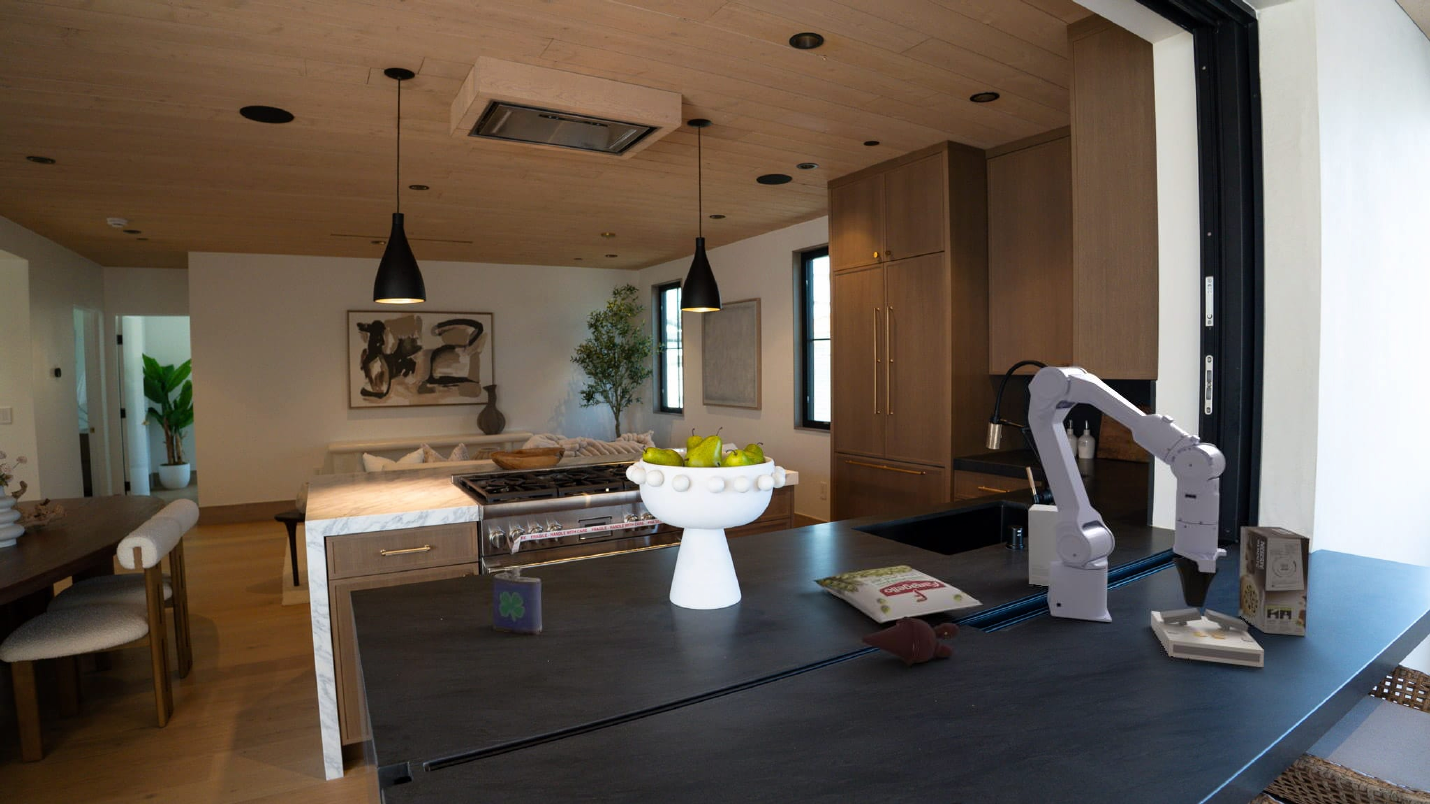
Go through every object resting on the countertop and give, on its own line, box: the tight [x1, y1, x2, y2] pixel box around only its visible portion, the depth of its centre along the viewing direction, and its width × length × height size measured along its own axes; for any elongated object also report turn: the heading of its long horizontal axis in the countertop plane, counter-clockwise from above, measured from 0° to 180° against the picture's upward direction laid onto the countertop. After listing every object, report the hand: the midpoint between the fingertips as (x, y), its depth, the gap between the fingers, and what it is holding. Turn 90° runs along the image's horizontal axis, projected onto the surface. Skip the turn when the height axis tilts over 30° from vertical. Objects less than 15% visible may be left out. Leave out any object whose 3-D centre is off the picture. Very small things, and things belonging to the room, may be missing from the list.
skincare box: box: [1027, 503, 1062, 587], centre depth 150 cm, size 8×7×16 cm
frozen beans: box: [812, 564, 983, 624], centre depth 138 cm, size 21×6×25 cm
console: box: [1150, 610, 1265, 668], centre depth 118 cm, size 12×14×3 cm
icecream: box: [861, 616, 960, 667], centre depth 112 cm, size 7×7×15 cm
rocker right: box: [1203, 608, 1250, 633], centre depth 118 cm, size 5×3×2 cm, turn 70°
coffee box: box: [1238, 525, 1311, 637], centre depth 127 cm, size 9×6×16 cm
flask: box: [492, 566, 543, 636], centre depth 126 cm, size 9×3×11 cm, turn 68°
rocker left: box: [1159, 607, 1202, 626], centre depth 120 cm, size 5×3×2 cm, turn 69°
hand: (1194, 605), depth 119 cm, fingers closed
